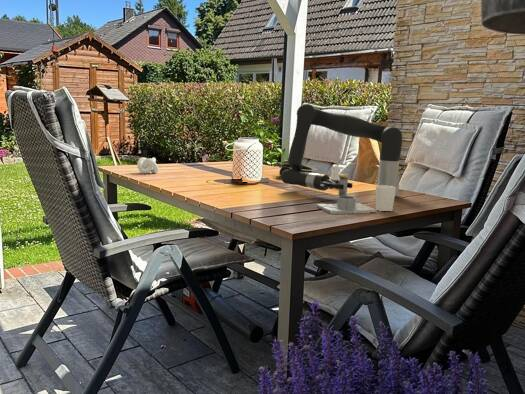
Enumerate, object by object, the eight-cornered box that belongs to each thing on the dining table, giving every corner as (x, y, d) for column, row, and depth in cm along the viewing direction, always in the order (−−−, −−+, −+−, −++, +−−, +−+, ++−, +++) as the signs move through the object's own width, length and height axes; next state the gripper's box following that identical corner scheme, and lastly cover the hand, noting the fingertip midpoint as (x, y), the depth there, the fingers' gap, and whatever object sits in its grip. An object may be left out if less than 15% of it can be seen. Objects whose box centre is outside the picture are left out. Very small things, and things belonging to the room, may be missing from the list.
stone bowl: (267, 174, 296) (269, 159, 295) (303, 176, 307) (305, 162, 306) (287, 180, 274) (288, 163, 273) (324, 182, 285) (326, 166, 284)
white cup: (385, 213, 199) (387, 188, 197) (370, 209, 205) (372, 185, 203) (397, 211, 204) (399, 187, 202) (382, 207, 210) (384, 184, 208)
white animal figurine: (140, 174, 278) (140, 159, 277) (134, 172, 288) (134, 156, 287) (159, 174, 284) (159, 158, 282) (153, 171, 294) (153, 156, 292)
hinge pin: (344, 200, 224) (346, 173, 222) (349, 201, 220) (350, 175, 218) (335, 200, 223) (337, 174, 221) (339, 202, 219) (341, 175, 216)
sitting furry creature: (335, 184, 268) (336, 162, 266) (346, 187, 261) (347, 164, 259) (322, 185, 263) (323, 163, 261) (332, 188, 256) (334, 165, 254)
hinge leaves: (359, 205, 212) (360, 193, 211) (375, 212, 199) (376, 200, 198) (316, 206, 206) (317, 194, 205) (330, 214, 193) (331, 201, 192)
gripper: (308, 174, 224) (339, 179, 213) (327, 172, 234) (357, 176, 223) (307, 191, 225) (337, 196, 214) (326, 188, 236) (356, 193, 224)
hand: (347, 186), depth 219 cm, fingers open, 6 cm apart
